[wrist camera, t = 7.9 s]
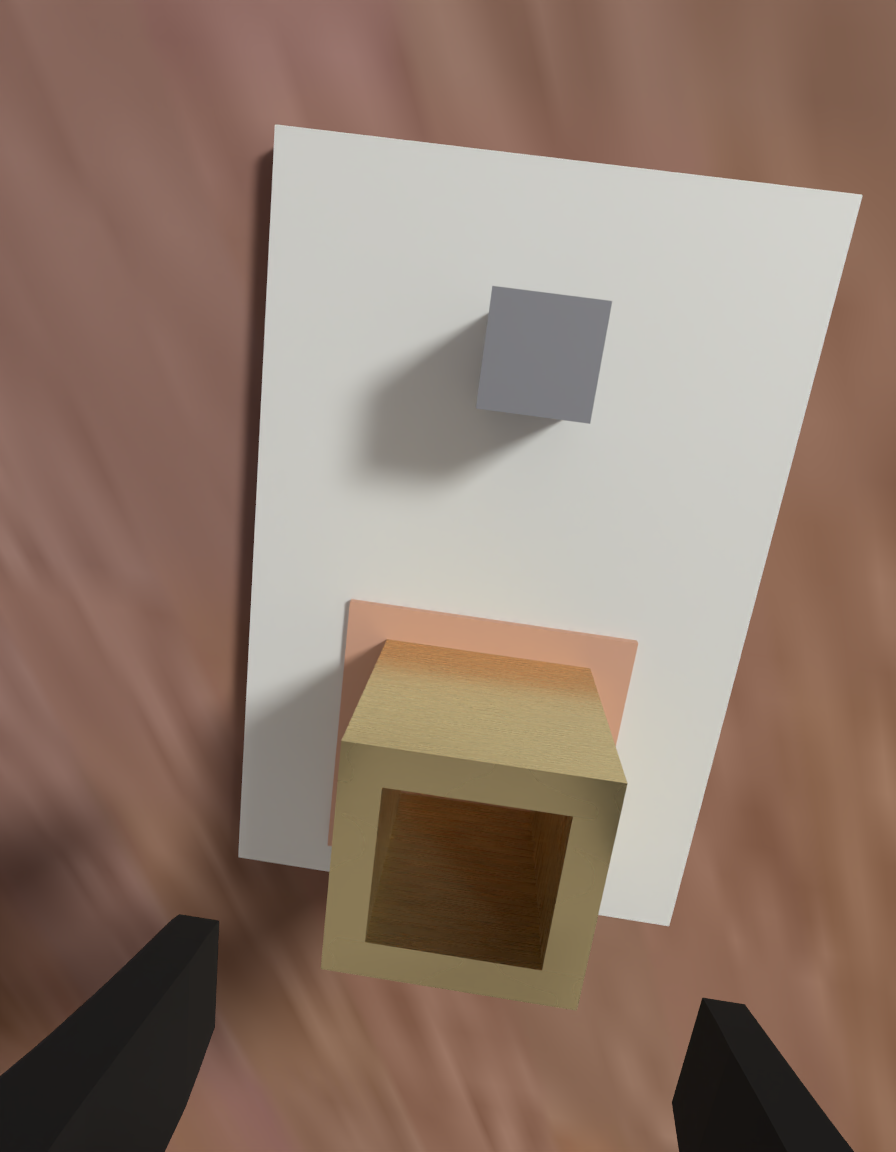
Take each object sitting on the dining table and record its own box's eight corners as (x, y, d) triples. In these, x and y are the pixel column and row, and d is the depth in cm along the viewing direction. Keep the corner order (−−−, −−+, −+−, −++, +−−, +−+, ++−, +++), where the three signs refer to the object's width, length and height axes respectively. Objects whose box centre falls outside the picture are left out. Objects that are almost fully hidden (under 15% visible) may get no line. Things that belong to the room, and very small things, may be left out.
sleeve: (368, 814, 18) (320, 969, 13) (387, 639, 17) (341, 740, 12) (556, 842, 18) (576, 1010, 13) (590, 668, 16) (627, 783, 12)
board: (248, 838, 20) (181, 958, 16) (286, 138, 15) (203, 40, 11) (662, 904, 19) (706, 1045, 15) (843, 205, 14) (982, 131, 10)
